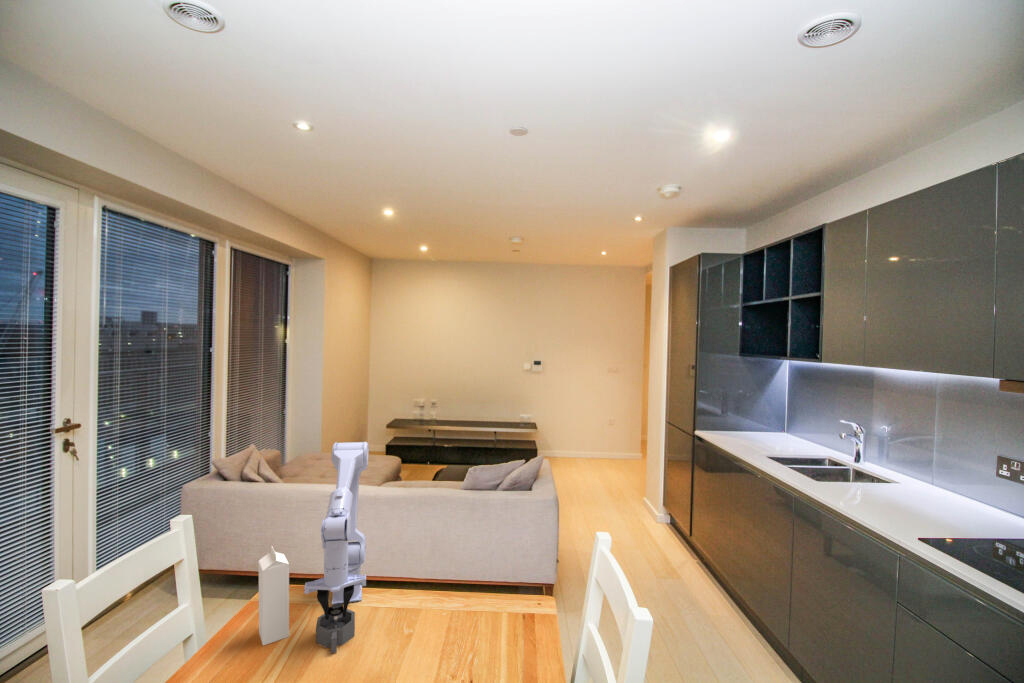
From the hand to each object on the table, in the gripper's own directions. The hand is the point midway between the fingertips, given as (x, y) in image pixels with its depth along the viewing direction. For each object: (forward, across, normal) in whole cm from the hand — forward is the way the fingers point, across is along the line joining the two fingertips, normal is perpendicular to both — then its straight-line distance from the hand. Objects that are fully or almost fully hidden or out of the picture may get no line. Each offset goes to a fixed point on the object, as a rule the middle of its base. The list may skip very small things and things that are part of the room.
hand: (335, 615), depth 119 cm
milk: (+5, -15, +4) cm, 16 cm away
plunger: (+4, 0, 0) cm, 4 cm away
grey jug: (+5, 0, -1) cm, 5 cm away
